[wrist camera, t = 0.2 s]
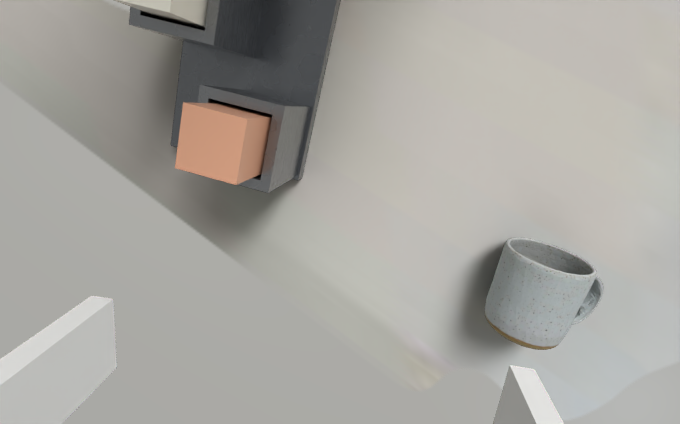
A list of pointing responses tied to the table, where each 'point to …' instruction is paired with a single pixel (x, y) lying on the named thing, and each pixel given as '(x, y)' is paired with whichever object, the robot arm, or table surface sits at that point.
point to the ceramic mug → (540, 293)
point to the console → (257, 70)
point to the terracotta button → (222, 141)
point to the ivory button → (174, 10)
